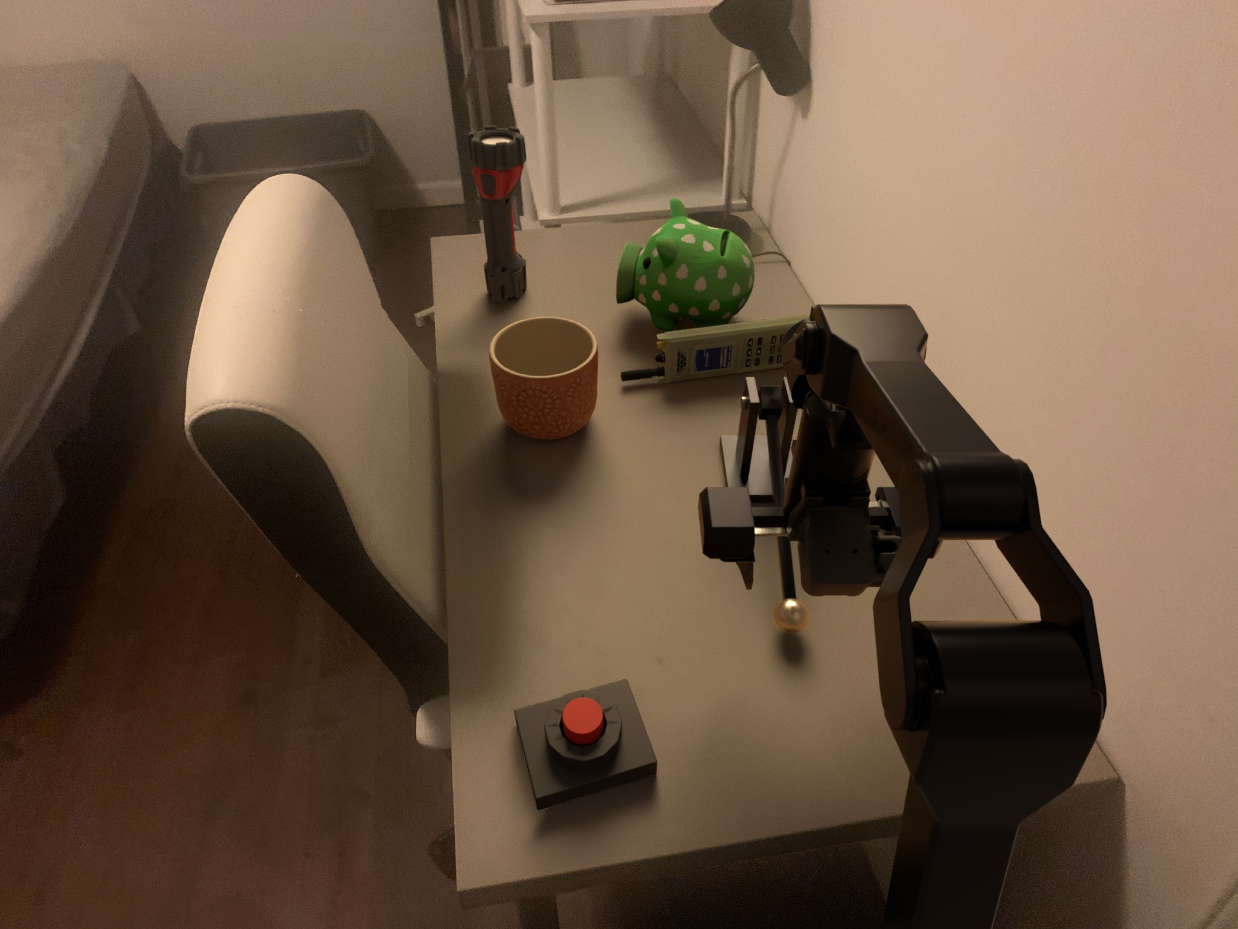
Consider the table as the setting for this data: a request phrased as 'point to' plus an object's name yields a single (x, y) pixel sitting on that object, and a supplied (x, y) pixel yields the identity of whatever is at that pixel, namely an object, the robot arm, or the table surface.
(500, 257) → the flashlight
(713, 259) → the piggy bank
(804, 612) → the power lever
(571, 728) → the stop button
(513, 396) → the planter
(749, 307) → the table surface
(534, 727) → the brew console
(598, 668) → the table surface
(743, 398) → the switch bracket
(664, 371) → the handheld radio
